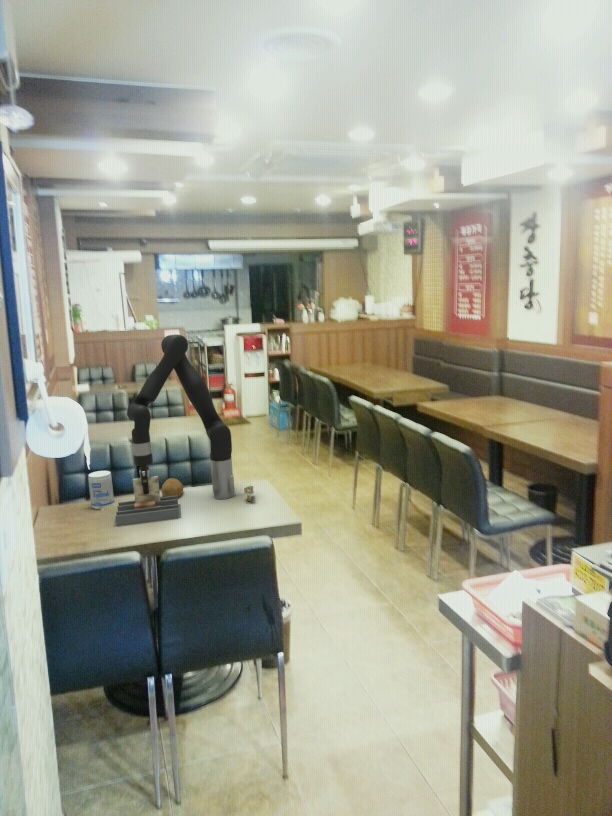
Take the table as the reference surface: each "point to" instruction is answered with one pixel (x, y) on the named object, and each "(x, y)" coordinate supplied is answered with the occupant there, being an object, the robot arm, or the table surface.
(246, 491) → the mottled beige figurine
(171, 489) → the potato
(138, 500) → the sheet
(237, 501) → the table surface
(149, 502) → the offcut upper
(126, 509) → the rack
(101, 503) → the supplement tub
